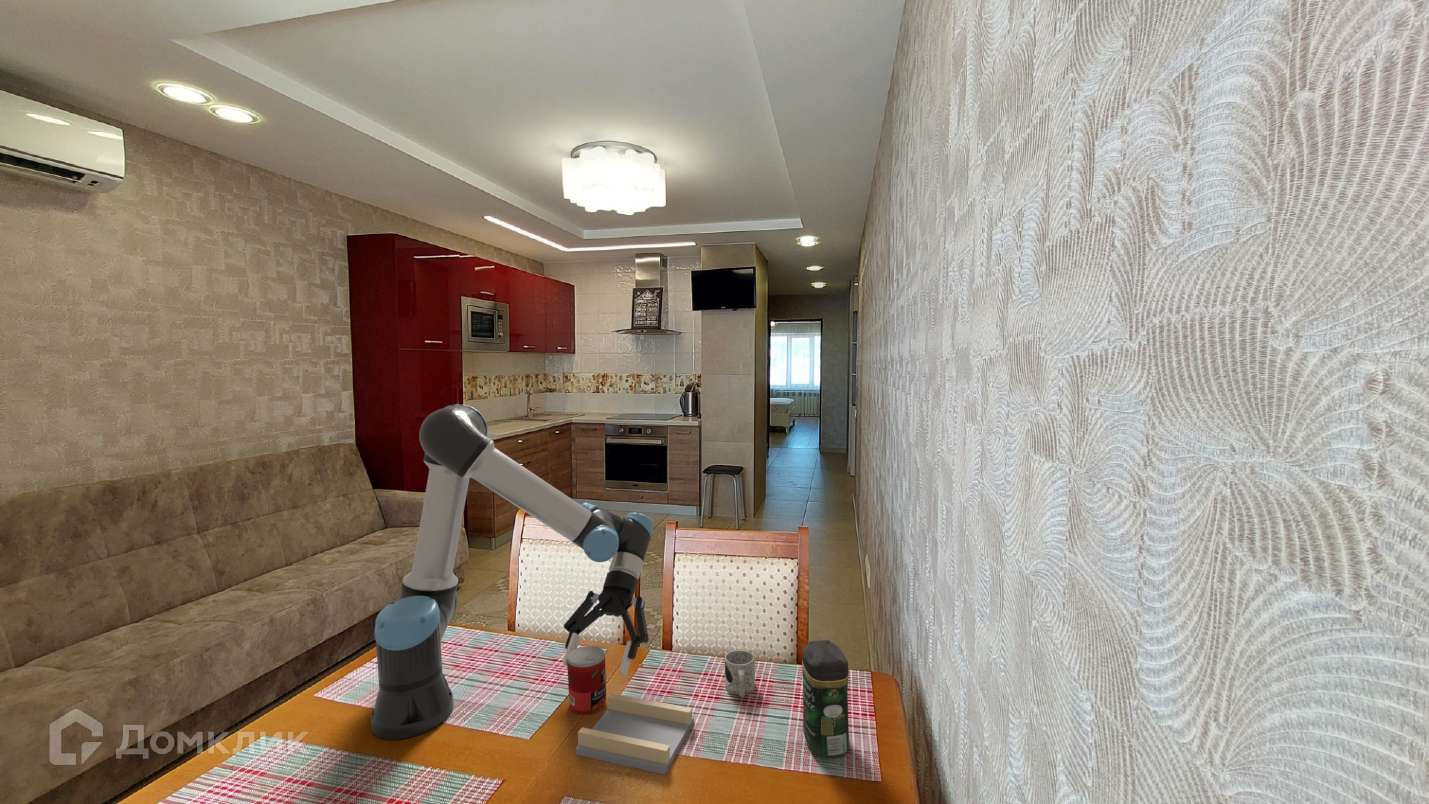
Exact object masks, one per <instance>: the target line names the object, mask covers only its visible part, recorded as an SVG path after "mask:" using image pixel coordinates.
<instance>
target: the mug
mask: <svg viewBox="0 0 1429 804" xmlns="http://www.w3.org/2000/svg"><path fill="white" fill-rule="evenodd" d="M755 662H756V661H755V656H754V654H753V653H752V652H750V651H747V650H743V649H735V650H731V651H729V652H727V653H726V654H725V655H724V687H725V690H726V691H728V693H730V694H732V695H737V696H739V697H740V698H744V697H745V695H747V694H751V693H752V692H753V691H754V690H755V687H756V677H755V676H756V675H755V674H756V672H755V668H756V666H755V665H756V663H755Z"/></svg>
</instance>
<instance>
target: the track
mask: <svg viewBox="0 0 1429 804" xmlns="http://www.w3.org/2000/svg"><path fill="white" fill-rule="evenodd" d="M607 708H608V709H607V710H606V711H605V712H604V713H603V715H602V716H601V717H600V719H598V721H597V722H596V723H595V724H594V726H593V727H592V728H587V727H584V726H583V727H581V728H580V729H579V730H578V732H577V740H578V741H577V743H578V744H577V746H576V747H575V755H576V756H580V757H584V758H589V759H594V760H599V761H602V762H605V763H606V762H607V763H611V764H615V765H619V766H620V765H621V766H624V767H625V766H626V767H629V768H634V769H639V770H643V771H647V772H652V773H656V774H661V775H666V773H667V772H668V770H669V768H670V766H671V765H672V763H673V761H674V759H675V758H676V756H677V754H678V752H679V751H680V749H681V747H682V745H683V743H684V742H685V740H686V738H687V736H688V734H689V733H690V731H691V729H692V727H693V726H692V725H694V724H695V717H694V716H693V708H692V707H690V706H689V707H688V706H683V705H677V704H672V703H666V702H661V701H655V700H651V699H646V698H645V699H644V698H639V697H634V696H628V695H623V694H618V693H610V694H609V695H608V697H607ZM690 728H691V729H690ZM680 746H681V747H680ZM679 748H680V749H679ZM675 755H676V756H675ZM674 757H675V758H674Z"/></svg>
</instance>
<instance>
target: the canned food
mask: <svg viewBox="0 0 1429 804" xmlns="http://www.w3.org/2000/svg"><path fill="white" fill-rule="evenodd" d="M566 667H567V687H568V690H567V691H568V705H569V707H570V709H571V710H572V712H574V713H576V714H579V715H590V714H594V713H596V712H599V711H600V710H601V709H603V708H604V707H605V705H606V702H607V675H606V655H605V651H604V649H603V648H602V647H598V646H593V645H586V646H585V645H584V646H581V647H577V649H574V650H573V651H571V652H570V653H569V654H568V658H567V666H566Z"/></svg>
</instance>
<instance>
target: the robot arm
mask: <svg viewBox="0 0 1429 804" xmlns="http://www.w3.org/2000/svg"><path fill="white" fill-rule="evenodd" d="M488 431H489V430H488V424H487V421H486V419H485V416H484V415H483V414H482V413H481V412H480V411H479V410H478V409H477V408H475V407H472V406H471V405H466V404H459V403H456V404H451V405H447V406H445V407H443V408H440V409H437V410H435V411H433V412H432V413H430V414H429V415H428V416H427V417H426V418H425V419H424V420H423V422H422V424H421V425H420V429H419V436H418V437H419V438H418V439H419V443H420V446H421V447H422V450H423V451H424V455H423V462H424V464H425V465H426V466H427V467H428V469H429V470H428V477H427V483H426V487H425V494H424V499H423V506H422V512H421V517H420V522H419V527H418V533H417V538H416V544H415V550H414V557H413V562H412V568H411V571H410V572H408V573H407V574H406V575H405V576H403V578H402V582H401V587H400V594H399V598H398V600H395V601H394V602H393V603H389V604H387V605H386V606H385V607H384V608H382V609H381V610H380V611H379V613H377V616H376V619H375V627H374V640H375V646H376V647H375V650H376V661H377V662H376V664H377V678H378V691H377V695H376V699H375V704H374V708H373V710H372V711H371V716H370V722H371V723H370V724H371V726H370V727H371V732H372V731H373V732H372V734H374V735H375V736H376V737H378V738H380V739H385V740H401V739H408V738H412V737H415V736H418V735H421V734H424V733H426V732H428V731H430V730H432V729H434V728H436V727H438V726H439V725H440V724H442V723H443V722H444V721H445V720H447V719H448V717H449V716H450V715H451V713H452V712H453V711H454V706H453V705H454V694H453V692H452V690H451V688H450V686H449V684H448V681H447V679H446V677H445V674H444V673H443V660H442V659H443V658H442V657H443V656H442V640H443V637H444V635H445V632H446V630H447V628H448V626H449V624H450V622H451V620H452V619H453V616H454V615H455V613H456V611H457V606H458V595H457V590H458V584H459V578H458V577H457V575H455V573H454V569H455V568H454V567H455V562H456V556H457V551H458V546H459V545H458V544H459V538H460V533H461V528H462V522H463V516H464V511H465V505H466V500H467V493H468V487H469V483H470V478H471V479H473V480H475V481H476V482H478V483H479V484H481V485H482V486H484V487H486V488H488V489H489V490H490V491H492V492H494V493H495V494H497V495H499V496H500V497H502V498H503V499H504V500H506V501H508V502H510V503H511V504H512V505H513V506H515V507H516V508H518V509H520V510H522V511H523V512H525V513H526V514H528V515H529V516H531V517H532V518H534V519H535V520H537V521H539V522H541V523H542V524H544V525H545V526H547V527H549V528H550V529H551V530H553V531H555V532H556V533H557V534H559V535H561V536H562V537H564V538H565V539H567V540H568V541H570V542H572V543H573V544H574V545H576V546H577V547H579V548H580V549H582V550H583V552H584V554H585V555H586V557H587V558H589V560H591V561H592V562H595V563H604V562H605V563H606V562H607V561H610V560H611V562H610V565H609V567H608V572H607V573H606V575H605V576H606V577H605V579H604V582H603V586H602V590H601V593H596V592H594V591H593V590H589V591H588V593H587V595H586V597H585V599H584V600H583V601H582V603H580V605H579V606H578V607H577V609H576V610H575V611H574V612H573V613H572V615H571V616H570V617H569V618H568V619H567V620H566V622H564V624H563V629H565V630H566V631H567V632H568V636H567V639H566V641H565V646H564V648H565V649H566V650H565V654H564V656H563V659H562V662H561V663H562V664H563V665H564V666H566V667H567V658H568V654H569V653H570V652H571V651H573V650H574V649H577V648H578V646H579V643H580V640H581V636H580V634H581V633H582V632H584V630H586V629H587V628H588V627H589V626H591V625H592V624H593V623H594V622H596V621H597V620H598V618H600V617H603V616H604V615H606V616H610V617H611V616H614V617H615V618H617V617H618V618H619V617H621V618H622V620H623V623H624V624H625V627H626V630H627V632H628V633H629V636H630V640H627V641H626V645H625V649H624V651H623V652H624V653H623V656H622V658H621V663H620V667H619V670H618V673H619V674H620V675H621V676H623V677H627V675H628V672H629V669H630V664H631V661H632V660H633V661H634V660H635V659H636V657H637V653H638V649H639V646H640V644H648V642H649V641H650V638H649V634H648V628H647V622H646V621H647V620H646V616H645V605H646V600H644V598H642V596H637V597H634V595H635V593H636V589H637V586H638V583H639V581H638V580H639V579H640V575H641V572H642V570H643V569H642V568H643V566H644V561H645V558H646V554H647V551H648V548H649V546H650V542H651V540H652V535H653V530H654V521H653V519H652V518H651V517H649V516H648V515H647V514H644V513H638V512H629V513H628V514H627V515H626V516H625V517H624V516H621V515H619V514H616V513H614V512H612V511H609V510H606V509H604V508H602V507H599V506H598V505H595V504H592V503H589V502H583V503H581V504H580V503H578V502H577V501H575V500H574V499H573V498H572V497H569V496H568V495H566V494H565V493H563V492H562V491H561V490H559V489H557V488H556V487H554V485H553V486H552V485H551V484H550V483H548V482H546V481H545V480H544V479H542V478H541V477H539V476H538V475H536V474H535V473H533V472H532V471H530V470H529V469H527V468H526V467H524V466H522V465H521V464H520V463H518V462H517V461H515V460H514V459H512V458H511V457H509V456H508V455H506V454H505V453H503V452H501V451H500V450H499V449H497V448H496V447H495V443H494V440H493V439H491V438H489V437H488ZM594 605H595V606H594ZM632 606H633V607H634V608H635V614H636V620H637V626H638V633H637V630H636V628H635V626H634V623H633V621H632V619H631V615H630V614H629V609H630V608H631V607H632ZM591 609H592V610H591ZM638 634H639V635H638Z"/></svg>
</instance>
